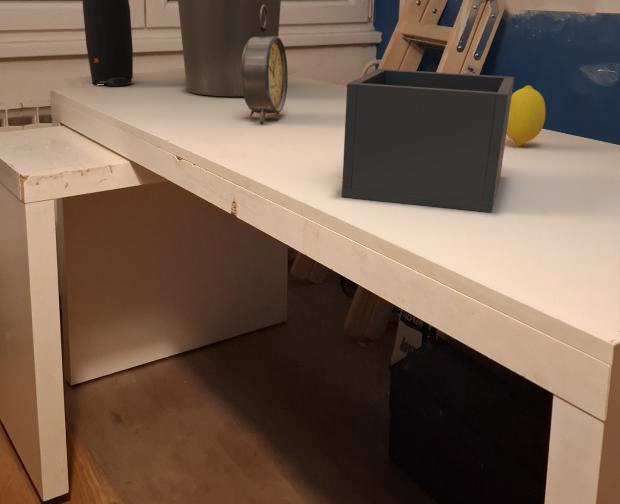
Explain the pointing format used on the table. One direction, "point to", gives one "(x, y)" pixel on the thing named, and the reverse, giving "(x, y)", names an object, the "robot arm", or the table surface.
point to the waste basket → (221, 40)
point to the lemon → (525, 115)
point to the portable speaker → (109, 41)
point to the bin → (426, 138)
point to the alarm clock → (264, 73)
